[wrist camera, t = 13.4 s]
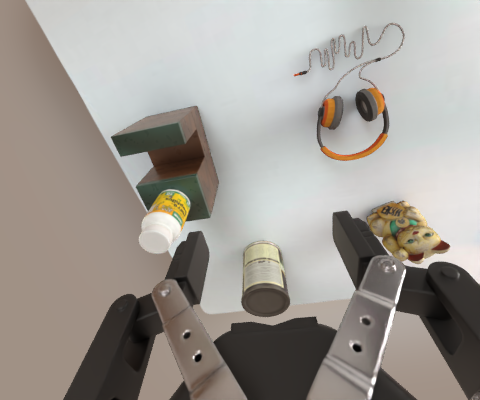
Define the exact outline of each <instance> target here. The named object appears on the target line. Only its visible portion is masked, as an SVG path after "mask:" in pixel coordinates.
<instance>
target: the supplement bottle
mask: <svg viewBox="0 0 480 400" xmlns="http://www.w3.org/2000/svg"><path fill="white" fill-rule="evenodd" d="M189 210H190V201H189V199H188V197H187V196H186V195H185V194H184V193H182V192H180V191H178V190H172V189H168V190H165V191H163V192H161V193H160V194H159V196H158V197H157V199H156V200H155V202H154V203H153V205H152V206H151V208H150V210H149V211H148V213H147V214H146V216H145V217H144V219H143V221H142V225H141V227H142V233H141V234H140V236H139V243H140V245H141V247H142V248H143V249H145V250H146V251H148V252H150V253H154V254H161V253H165V252H166V251H168V249H169V248H170V246H171V244H172V242H174V241H176V240H177V239H178V237H179V236H180V234H181V231H182V228H183V226H184V223H185V221H186V218H187V215H188V212H189Z"/></svg>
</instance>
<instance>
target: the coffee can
mask: <svg viewBox="0 0 480 400" xmlns="http://www.w3.org/2000/svg"><path fill="white" fill-rule="evenodd" d="M241 303H242V306H243V308H244V309H245V310H246V311H247V312H248V313H250V314H252V315H255V316H260V317H271V316H276V315H279V314H281V313H283V312H284V311H285V310H287V308H288V307H289V305H290V298H289V295H288V290H287V284H286V278H285V272H284V266H283V260H282V252H281V250H280V248H279V247H278V246H277V245H276V244H274V243H272V242H268V241H257V242H254V243H252V244H250V245H248V246H247V247H246V249H245V250H244V253H243V290H242V301H241Z"/></svg>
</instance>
